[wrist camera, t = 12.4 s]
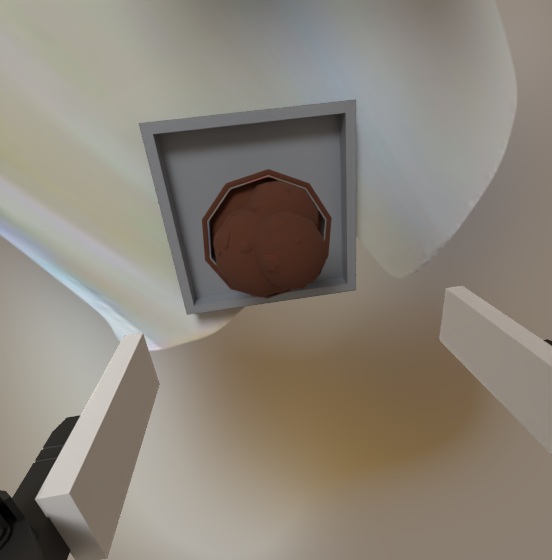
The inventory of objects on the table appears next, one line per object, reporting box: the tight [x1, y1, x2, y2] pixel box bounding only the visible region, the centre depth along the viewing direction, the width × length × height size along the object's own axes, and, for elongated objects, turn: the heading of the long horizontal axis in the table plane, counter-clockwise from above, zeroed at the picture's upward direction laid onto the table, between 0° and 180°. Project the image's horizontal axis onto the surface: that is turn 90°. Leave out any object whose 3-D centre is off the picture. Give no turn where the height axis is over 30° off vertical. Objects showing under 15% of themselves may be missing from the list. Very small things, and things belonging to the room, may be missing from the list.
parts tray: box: [139, 100, 356, 315], centre depth 35 cm, size 20×20×3 cm
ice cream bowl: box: [202, 169, 332, 298], centre depth 29 cm, size 11×11×15 cm
